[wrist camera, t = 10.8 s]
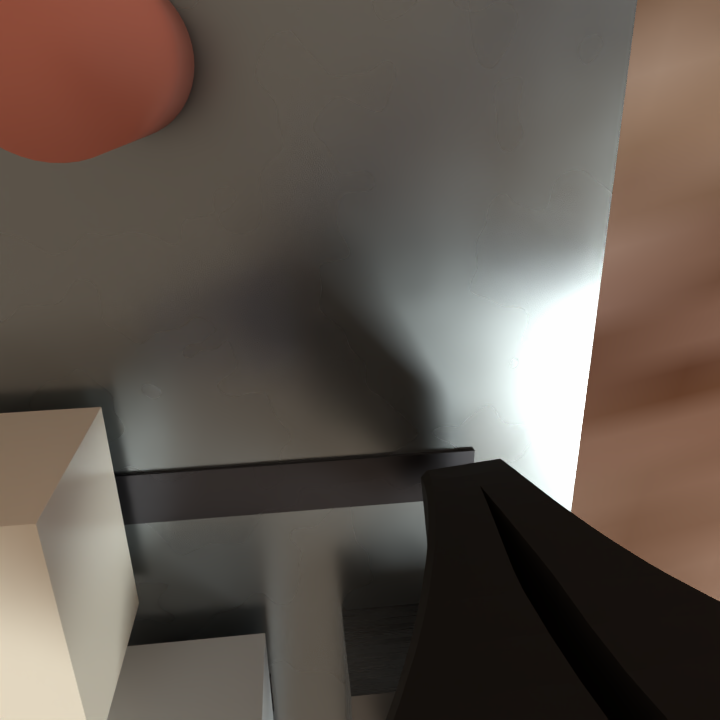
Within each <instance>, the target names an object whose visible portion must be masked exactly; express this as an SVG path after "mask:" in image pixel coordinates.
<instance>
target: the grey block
mask: <svg viewBox="0 0 720 720" xmlns="http://www.w3.org/2000/svg"><path fill="white" fill-rule="evenodd" d="M107 720H274V719H273V709H272V699H271V689H270V679H269V669H268V658H267V648H266V638H265V633H261V634H251V635H240V636H230V637H220V638H209V639H199V640H188V641H178V642H167V643H157V644H147V645H136V646H127V649H126V652H125V656H124V660H123V663H122V667H121V671H120V674H119V678H118V681H117V685H116V689H115V692H114V696H113V700H112V703H111V707H110V710H109V714H108V718H107Z"/></svg>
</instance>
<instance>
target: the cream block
mask: <svg viewBox="0 0 720 720" xmlns="http://www.w3.org/2000/svg"><path fill="white" fill-rule="evenodd" d="M138 605H139V600H138V595H137V590H136V585H135V579H134V574H133V569H132V564H131V559H130V554H129V548H128V543H127V538H126V533H125V528H124V522H123V517H122V512H121V507H120V502H119V497H118V491H117V486H116V481H115V476H114V471H113V465H112V460H111V455H110V450H109V445H108V439H107V434H106V429H105V424H104V419H103V414H102V408H101V407H92V408H76V409H60V410H44V411H28V412H13V413H0V720H107V718H108V714H109V710H110V707H111V703H112V700H113V696H114V692H115V689H116V685H117V681H118V678H119V674H120V671H121V667H122V663H123V660H124V656H125V652H126V649H127V645H128V642H129V638H130V634H131V631H132V627H133V623H134V620H135V616H136V613H137V609H138Z"/></svg>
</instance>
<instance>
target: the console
mask: <svg viewBox="0 0 720 720" xmlns="http://www.w3.org/2000/svg"><path fill="white" fill-rule="evenodd" d="M169 1H170V2H171V3H172V5H173V6H174V7H175V9H176V10H177V11H178V13H179V15H180V16H181V18H182V20H183V22H184V24H185V26H186V28H187V31H188V33H189V36H190V39H191V43H192V47H193V53H194V66H195V67H194V79H193V84H192V88H191V91H190V94H189V97H188V99H187V101H186V103H185V105H184V107H183V108H182V110H181V111H180V113H179V114H178V115H177V116H176V117H175V119H174V120H173V121H172V122H171V123H169V124H168V125H167V126H166V127H164V128H163V129H161V130H159V131H158V132H156V133H153V134H151V135H148V136H146V137H144V138H141V139H139V140H136V141H133V142H131V143H128V144H126V145H123V146H121V147H118V148H116V149H113V150H111V151H108V152H106V153H103V154H101V155H98V156H96V157H93V158H90V159H86V160H83V161H79V162H70V163H48V162H42V161H35V160H32V159H28V158H24V157H21V156H18V155H16V154H13V153H11V152H8V151H6V150H4V149H2V148H1V147H0V413H13V412H28V411H44V410H60V409H76V408H92V407H101V408H102V414H103V419H104V424H105V429H106V434H107V439H108V445H109V450H110V455H111V460H112V465H113V471H114V476H115V481H116V486H117V491H118V497H119V502H120V507H121V512H122V517H123V522H124V528H125V533H126V538H127V543H128V548H129V554H130V559H131V564H132V569H133V574H134V579H135V585H136V590H137V595H138V600H139V605H138V609H137V613H136V616H135V620H134V623H133V627H132V631H131V634H130V638H129V642H128V645H127V646H136V645H147V644H157V643H167V642H178V641H188V640H199V639H209V638H220V637H230V636H240V635H251V634H261V633H265V638H266V648H267V658H268V669H269V679H270V689H271V699H272V709H273V719H274V720H386V717H387V715H388V712H389V709H390V707H391V704H392V701H393V698H394V695H395V692H396V689H397V686H398V683H399V679H400V676H401V673H402V669H403V666H404V663H405V659H406V656H407V653H408V649H409V645H410V641H411V637H412V633H413V629H414V625H415V621H416V616H417V612H418V607H419V602H420V597H421V590H422V584H423V577H424V570H425V563H426V555H427V536H426V526H425V516H424V506H423V495H422V485H421V477H422V475H423V474H424V473H425V472H426V471H427V470H432V469H438V468H444V467H450V466H457V465H463V464H469V463H475V462H481V461H488V460H494V459H502V460H503V461H504V462H506V463H507V464H508V465H510V466H511V467H512V468H514V469H515V470H516V471H517V472H519V473H520V474H521V475H523V476H524V477H525V478H527V479H528V480H529V481H530V482H532V483H533V484H534V485H536V486H537V487H538V488H539V489H541V490H542V491H543V492H545V493H546V494H547V495H549V496H550V497H551V498H552V499H554V500H555V501H556V502H558V503H559V504H560V505H562V506H563V507H565V508H566V509H567V510H569V511H570V512H571V506H572V498H573V490H574V483H575V475H576V467H577V460H578V452H579V444H580V436H581V429H582V421H583V413H584V406H585V398H586V390H587V382H588V375H589V367H590V359H591V352H592V344H593V336H594V328H595V321H596V313H597V305H598V298H599V290H600V282H601V275H602V267H603V259H604V251H605V244H606V236H607V228H608V221H609V213H610V205H611V197H612V190H613V182H614V174H615V167H616V159H617V151H618V143H619V136H620V128H621V120H622V113H623V105H624V97H625V89H626V82H627V74H628V66H629V59H630V51H631V43H632V36H633V28H634V20H635V12H636V5H637V0H169Z"/></svg>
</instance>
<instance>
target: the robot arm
mask: <svg viewBox="0 0 720 720" xmlns="http://www.w3.org/2000/svg"><path fill="white" fill-rule="evenodd" d="M421 485H422V495H423V506H424V516H425V526H426V536H427V555H426V563H425V570H424V577H423V584H422V590H421V597H420V602H419V607H418V612H417V616H416V621H415V625H414V629H413V633H412V637H411V641H410V645H409V649H408V653H407V656H406V659H405V663H404V666H403V669H402V673H401V676H400V679H399V683H398V686H397V689H396V692H395V695H394V698H393V701H392V704H391V707H390V709H389V712H388V715H387V717H386V720H720V601H718V600H716V599H714V598H712V597H710V596H708V595H706V594H704V593H702V592H700V591H698V590H697V589H695V588H693V587H691V586H689V585H687V584H685V583H683V582H681V581H680V580H678V579H676V578H674V577H672V576H670V575H668V574H667V573H665V572H663V571H661V570H660V569H658V568H656V567H654V566H653V565H651V564H649V563H647V562H646V561H644V560H643V559H641V558H639V557H638V556H636V555H635V554H633V553H631V552H630V551H628V550H627V549H625V548H623V547H622V546H620V545H619V544H617V543H615V542H614V541H612V540H611V539H609V538H608V537H606V536H605V535H603V534H602V533H600V532H599V531H597V530H596V529H594V528H593V527H591V526H590V525H588V524H587V523H585V522H584V521H583V520H581V519H580V518H578V517H577V516H576V515H574V514H573V513H571V512H570V511H569V510H567V509H566V508H565V507H563V506H562V505H560V504H559V503H558V502H556V501H555V500H554V499H552V498H551V497H550V496H549V495H547V494H546V493H545V492H543V491H542V490H541V489H539V488H538V487H537V486H536V485H534V484H533V483H532V482H530V481H529V480H528V479H527V478H525V477H524V476H523V475H521V474H520V473H519V472H517V471H516V470H515V469H514V468H512V467H511V466H510V465H508V464H507V463H506V462H504V461H503V460H502V459H494V460H488V461H481V462H475V463H469V464H463V465H457V466H450V467H444V468H438V469H432V470H427V471H426V472H425V473H424V474H423V475H422V477H421Z"/></svg>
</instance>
